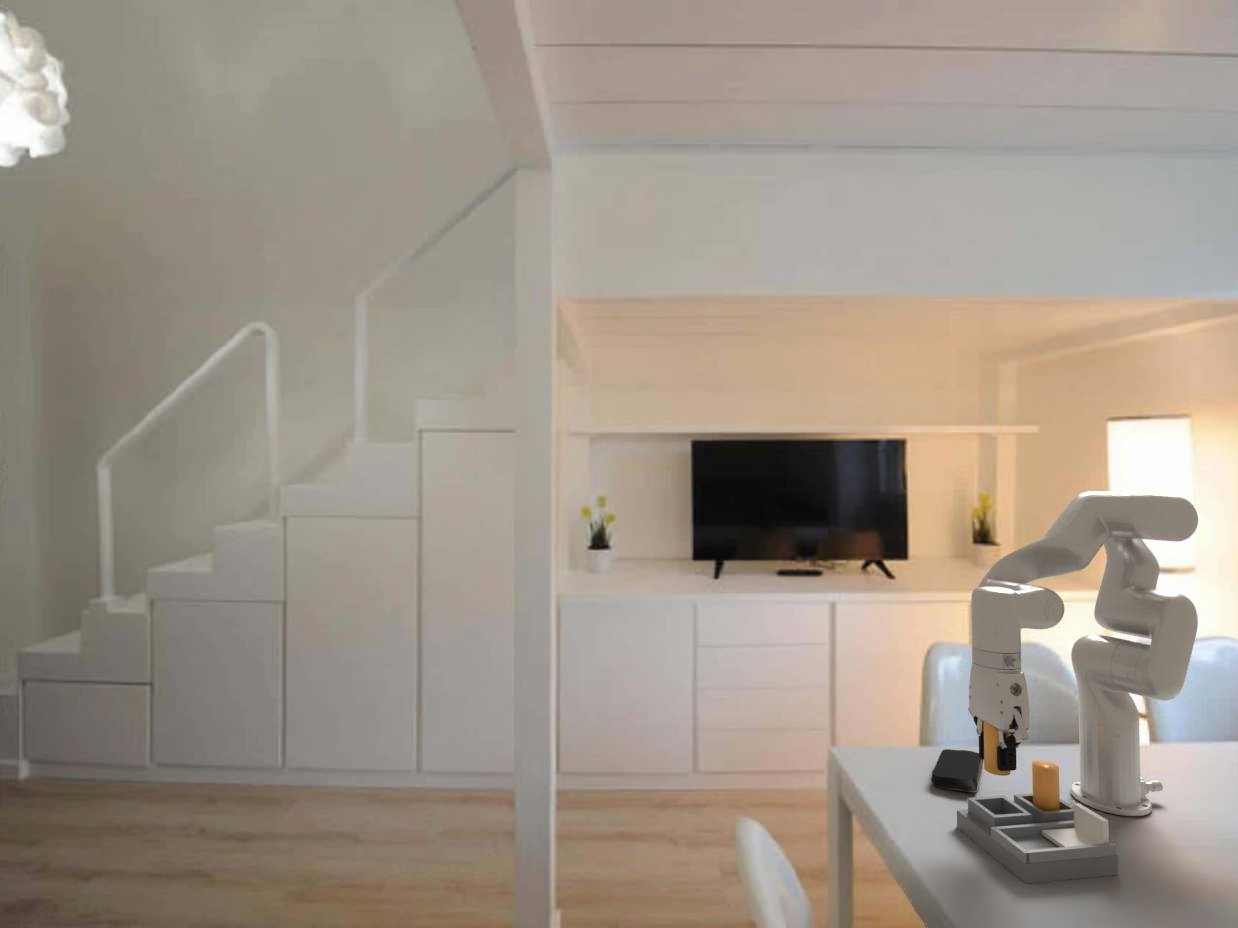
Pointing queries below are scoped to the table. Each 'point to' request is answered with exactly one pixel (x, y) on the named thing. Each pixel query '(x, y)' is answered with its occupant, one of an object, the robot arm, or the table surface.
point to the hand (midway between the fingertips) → (997, 762)
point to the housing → (1034, 832)
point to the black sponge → (958, 770)
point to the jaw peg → (992, 749)
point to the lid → (1081, 829)
